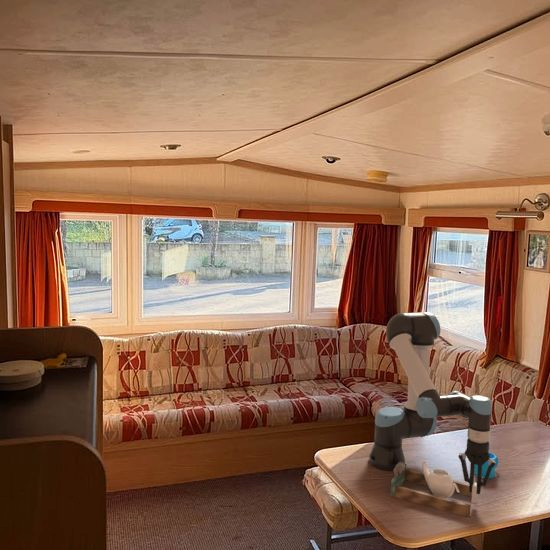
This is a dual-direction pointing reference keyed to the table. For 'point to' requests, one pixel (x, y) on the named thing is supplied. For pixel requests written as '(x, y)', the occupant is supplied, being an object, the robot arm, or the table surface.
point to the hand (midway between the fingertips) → (474, 501)
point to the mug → (485, 467)
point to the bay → (426, 498)
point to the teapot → (439, 482)
